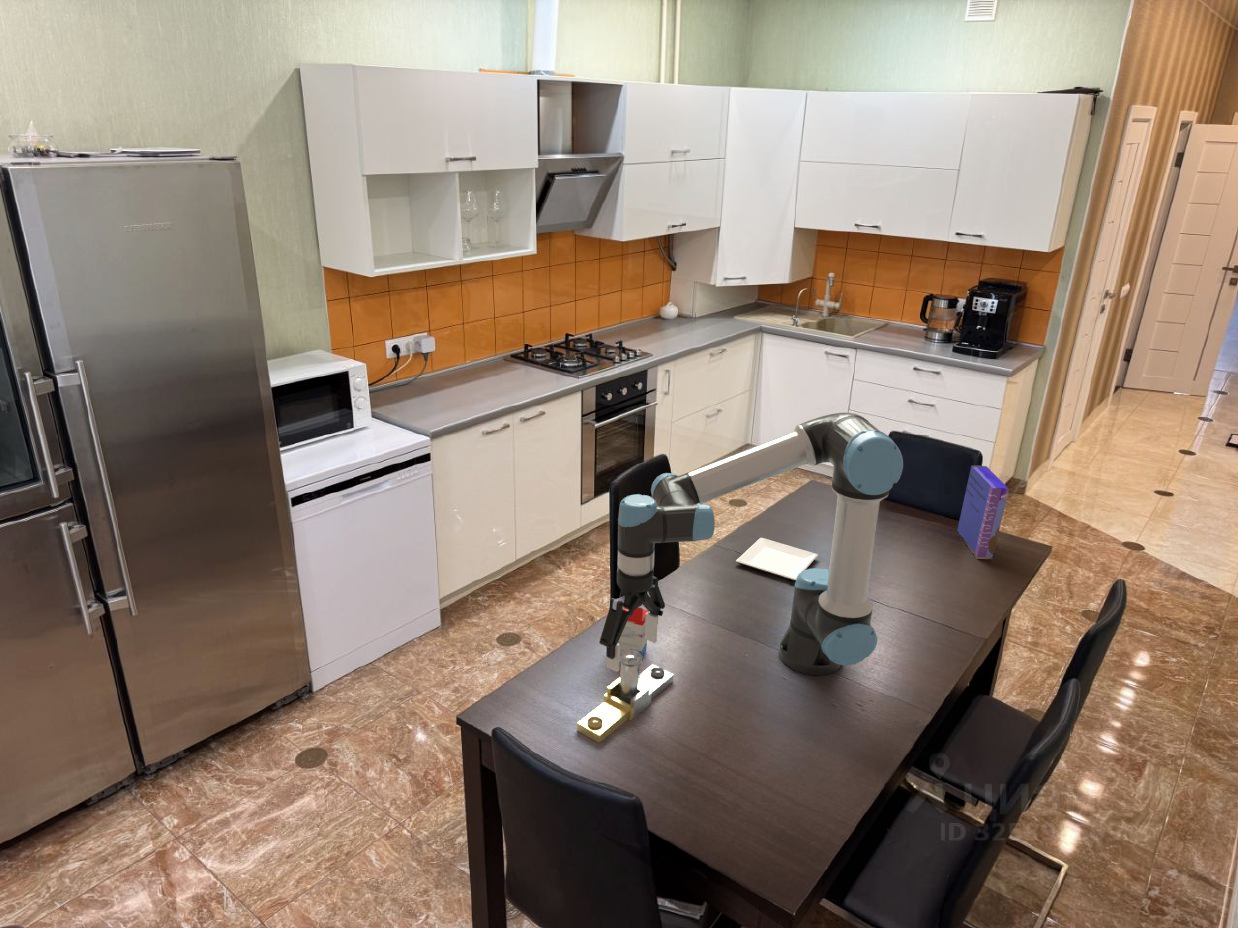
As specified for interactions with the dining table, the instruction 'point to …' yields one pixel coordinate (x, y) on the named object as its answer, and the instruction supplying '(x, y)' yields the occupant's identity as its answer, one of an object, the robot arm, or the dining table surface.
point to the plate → (777, 558)
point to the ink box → (634, 632)
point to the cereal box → (982, 510)
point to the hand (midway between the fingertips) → (632, 654)
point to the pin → (629, 674)
